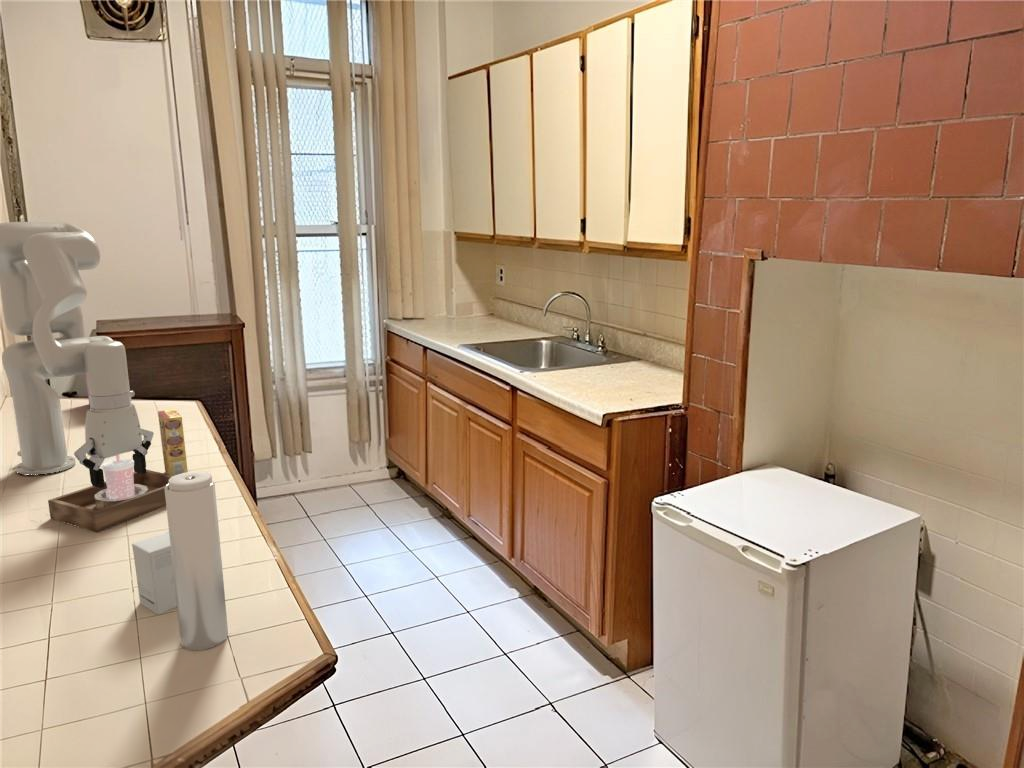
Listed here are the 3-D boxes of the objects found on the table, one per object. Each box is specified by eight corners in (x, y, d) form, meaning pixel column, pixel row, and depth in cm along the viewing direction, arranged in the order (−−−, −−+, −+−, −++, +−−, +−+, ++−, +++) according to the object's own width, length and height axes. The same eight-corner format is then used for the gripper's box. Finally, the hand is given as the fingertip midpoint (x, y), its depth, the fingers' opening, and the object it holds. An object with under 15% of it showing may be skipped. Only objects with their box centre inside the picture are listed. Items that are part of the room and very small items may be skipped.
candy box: (189, 479, 177) (183, 416, 174) (169, 482, 175) (163, 419, 171) (182, 468, 184) (176, 408, 181) (163, 471, 182) (157, 410, 178)
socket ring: (85, 507, 157) (84, 496, 157) (128, 492, 166) (127, 481, 166) (116, 515, 153) (115, 504, 152) (159, 499, 162) (157, 488, 161)
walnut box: (50, 518, 153) (48, 500, 153) (145, 485, 173) (143, 468, 172) (97, 532, 147) (95, 513, 146) (190, 496, 166) (188, 479, 165)
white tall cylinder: (189, 627, 113) (173, 470, 107) (233, 625, 113) (219, 469, 108) (174, 652, 106) (156, 486, 101) (220, 649, 107) (205, 484, 102)
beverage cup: (116, 510, 155) (109, 446, 153) (100, 504, 159) (92, 441, 156) (144, 501, 161) (137, 438, 158) (127, 496, 164) (121, 434, 161)
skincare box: (199, 578, 128) (193, 521, 126) (219, 590, 124) (214, 531, 122) (137, 602, 120) (130, 541, 118) (156, 615, 116) (149, 553, 114)
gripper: (136, 390, 164) (144, 465, 168) (58, 408, 149) (69, 489, 153) (159, 394, 160) (167, 470, 164) (82, 412, 145) (92, 495, 149)
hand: (119, 479), depth 158 cm, fingers open, 9 cm apart
